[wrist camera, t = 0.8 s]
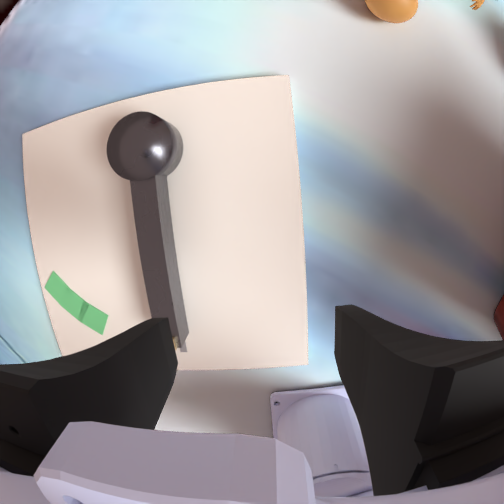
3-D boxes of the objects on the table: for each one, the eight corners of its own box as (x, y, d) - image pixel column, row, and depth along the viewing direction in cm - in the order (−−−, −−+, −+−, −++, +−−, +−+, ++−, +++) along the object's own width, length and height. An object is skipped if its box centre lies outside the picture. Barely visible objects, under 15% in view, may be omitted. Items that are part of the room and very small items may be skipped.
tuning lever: (124, 126, 18) (104, 119, 16) (181, 114, 18) (168, 104, 15) (153, 331, 21) (140, 350, 19) (206, 330, 21) (198, 350, 18)
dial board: (306, 357, 23) (308, 365, 22) (70, 357, 24) (64, 363, 23) (287, 79, 18) (288, 74, 17) (29, 135, 20) (21, 134, 18)
